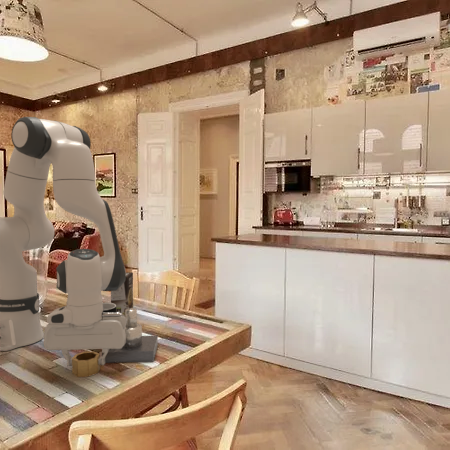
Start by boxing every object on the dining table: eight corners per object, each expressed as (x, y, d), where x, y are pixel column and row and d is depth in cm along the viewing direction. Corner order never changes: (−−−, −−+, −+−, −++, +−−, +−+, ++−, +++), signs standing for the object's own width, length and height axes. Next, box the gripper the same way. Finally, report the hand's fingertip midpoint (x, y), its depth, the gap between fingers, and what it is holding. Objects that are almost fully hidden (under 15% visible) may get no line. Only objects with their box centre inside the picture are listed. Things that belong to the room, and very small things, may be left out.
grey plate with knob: (102, 362, 108) (101, 316, 107) (111, 346, 120) (110, 304, 119) (153, 361, 109) (153, 315, 108) (157, 345, 121) (157, 303, 120)
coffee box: (127, 319, 145) (127, 276, 143) (110, 319, 145) (109, 276, 143) (134, 312, 154) (133, 272, 152) (117, 312, 154) (117, 271, 153)
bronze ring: (69, 377, 99) (69, 361, 99) (77, 366, 105) (77, 351, 105) (95, 376, 99) (95, 361, 99) (101, 365, 106) (101, 351, 105)
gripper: (128, 308, 105) (128, 358, 106) (49, 309, 104) (50, 360, 105) (123, 315, 99) (124, 368, 100) (40, 317, 97) (41, 371, 98)
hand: (86, 364), depth 102 cm, fingers closed on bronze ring, 6 cm apart
